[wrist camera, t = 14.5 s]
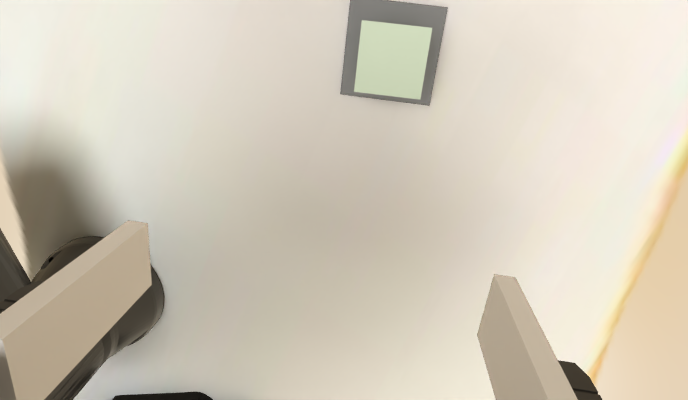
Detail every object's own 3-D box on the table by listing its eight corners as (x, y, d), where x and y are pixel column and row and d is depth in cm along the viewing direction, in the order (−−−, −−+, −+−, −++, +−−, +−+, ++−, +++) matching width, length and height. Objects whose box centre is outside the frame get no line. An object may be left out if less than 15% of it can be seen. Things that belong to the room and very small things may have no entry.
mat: (340, 93, 44) (340, 94, 43) (351, -4, 40) (350, -4, 40) (428, 104, 43) (429, 105, 43) (446, 7, 40) (447, 7, 39)
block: (368, 22, 41) (361, 20, 30) (421, 28, 40) (432, 27, 30) (362, 77, 42) (353, 91, 32) (412, 82, 42) (420, 99, 32)
